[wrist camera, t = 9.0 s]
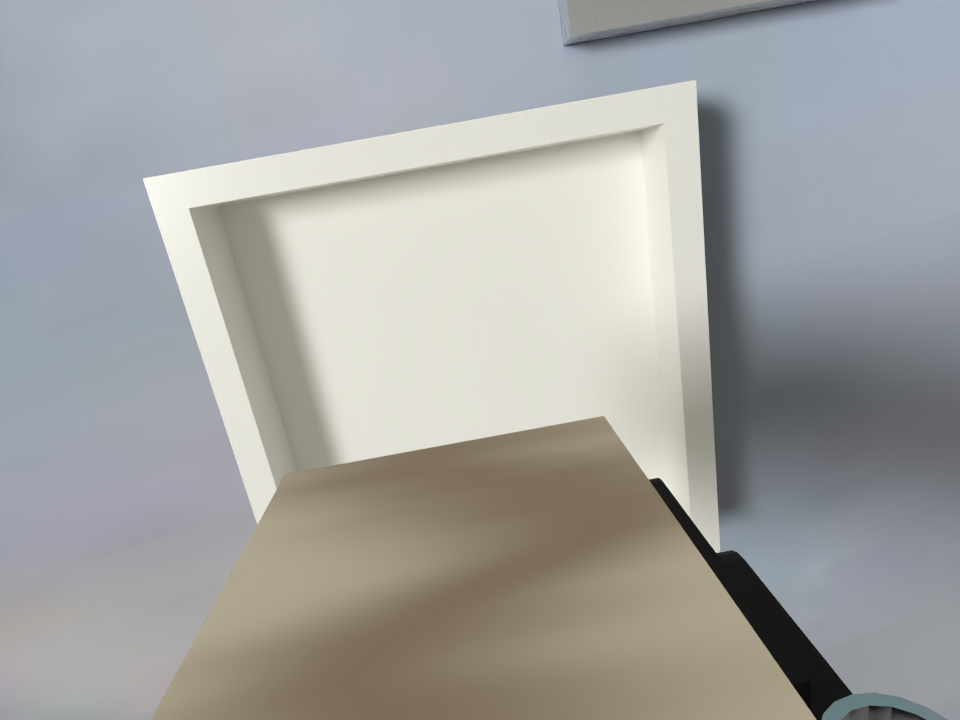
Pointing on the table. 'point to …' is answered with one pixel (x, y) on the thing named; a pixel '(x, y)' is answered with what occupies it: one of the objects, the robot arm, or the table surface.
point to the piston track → (646, 15)
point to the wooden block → (478, 597)
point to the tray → (458, 290)
